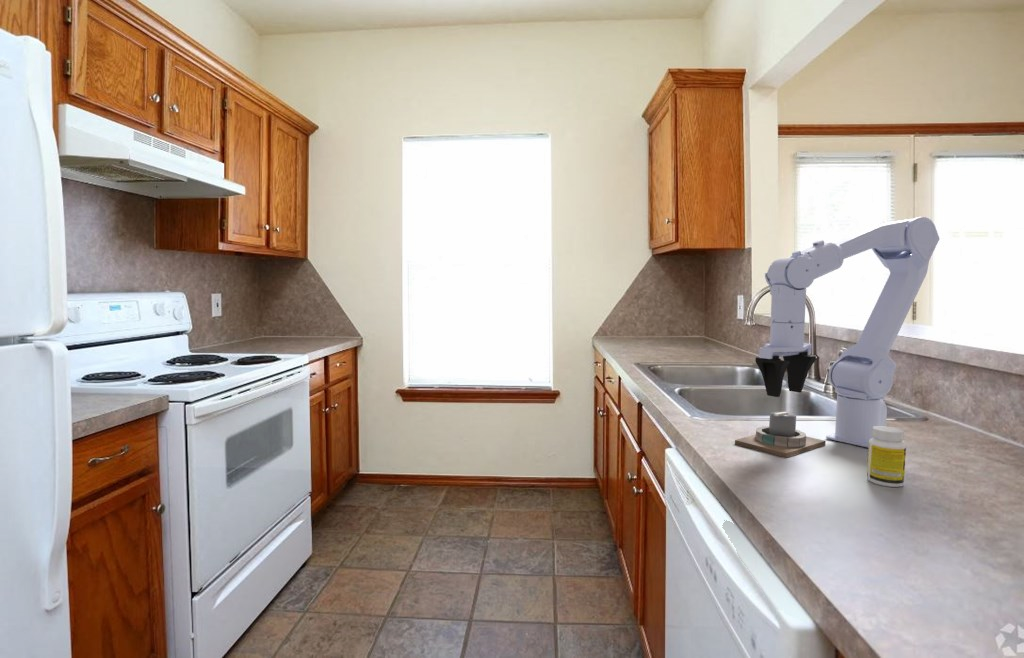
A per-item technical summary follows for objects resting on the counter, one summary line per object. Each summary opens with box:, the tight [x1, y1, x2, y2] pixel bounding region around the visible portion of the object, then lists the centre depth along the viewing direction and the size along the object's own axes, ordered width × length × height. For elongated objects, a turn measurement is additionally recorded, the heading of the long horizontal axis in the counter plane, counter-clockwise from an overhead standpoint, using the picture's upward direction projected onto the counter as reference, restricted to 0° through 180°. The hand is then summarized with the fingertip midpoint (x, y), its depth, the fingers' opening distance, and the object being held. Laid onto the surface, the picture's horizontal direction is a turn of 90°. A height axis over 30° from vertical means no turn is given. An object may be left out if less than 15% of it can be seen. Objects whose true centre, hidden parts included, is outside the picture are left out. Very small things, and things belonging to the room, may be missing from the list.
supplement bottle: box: [866, 425, 907, 488], centre depth 83 cm, size 5×5×8 cm
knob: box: [768, 411, 797, 437], centre depth 103 cm, size 4×4×5 cm
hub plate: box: [734, 425, 827, 458], centre depth 103 cm, size 14×10×2 cm
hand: (784, 393), depth 102 cm, fingers open, 7 cm apart
